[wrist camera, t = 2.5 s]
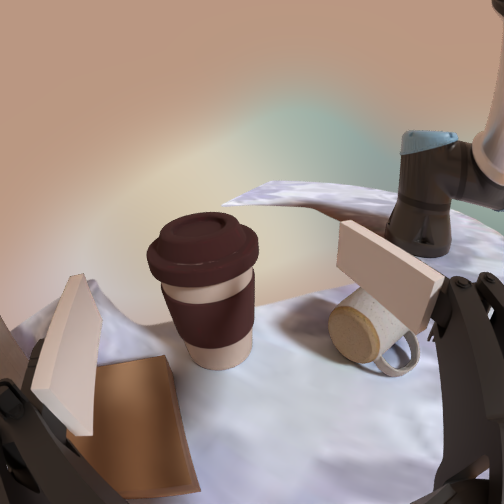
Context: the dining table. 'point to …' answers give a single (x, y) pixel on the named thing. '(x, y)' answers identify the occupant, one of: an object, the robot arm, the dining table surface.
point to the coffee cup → (208, 285)
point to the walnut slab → (138, 431)
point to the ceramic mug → (369, 332)
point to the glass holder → (11, 357)
